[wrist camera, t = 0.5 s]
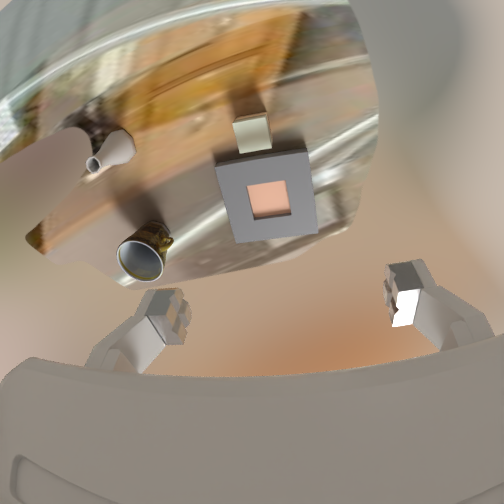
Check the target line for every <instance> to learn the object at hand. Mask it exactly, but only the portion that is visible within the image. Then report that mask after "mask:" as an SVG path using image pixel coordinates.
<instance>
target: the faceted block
mask: <svg viewBox="0 0 504 504" xmlns="http://www.w3.org/2000/svg"><path fill="white" fill-rule="evenodd" d="M232 124H233V128H234V132H235V136H236V140H237V144H238V148H239V153H240V154H241V153H246V152H252V151H258V150H264V149H270V148H272V140H273V139H272V134H271V129H270V124H269V119H268V115H267V112H261V113H256V114H250V115H245V116H240V117H237V118H236V120H235V121H234V122H233V123H232Z"/></svg>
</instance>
